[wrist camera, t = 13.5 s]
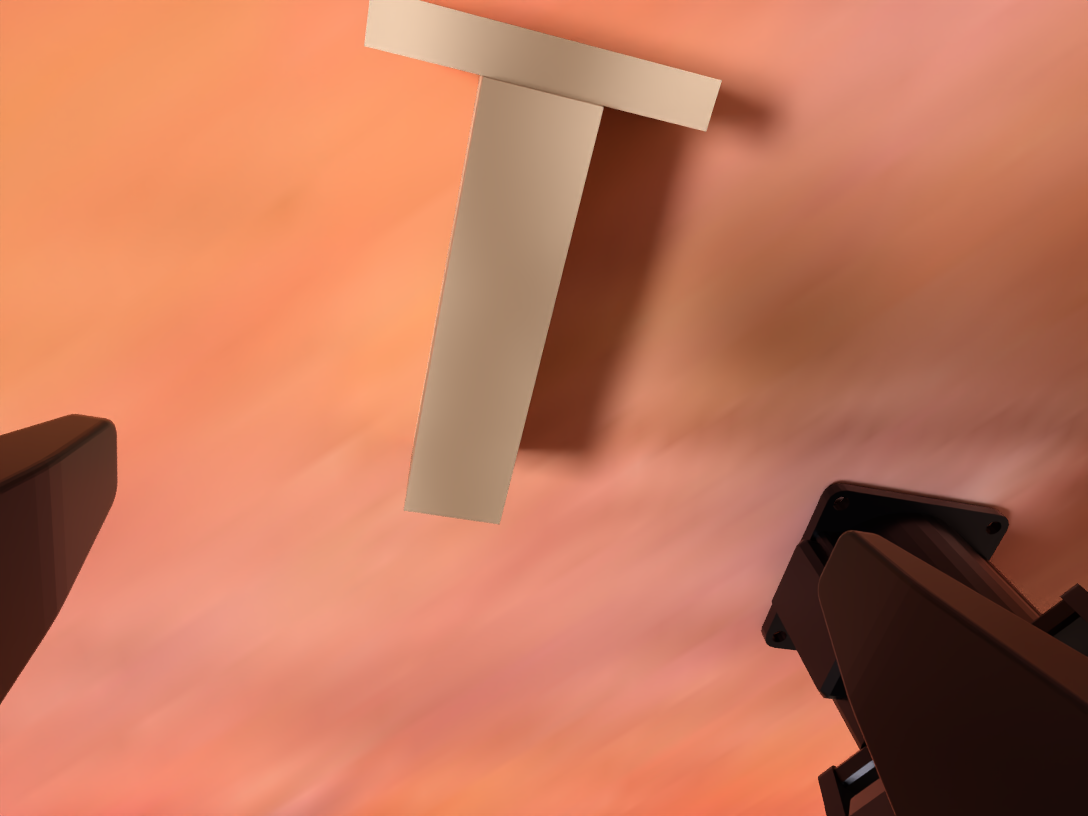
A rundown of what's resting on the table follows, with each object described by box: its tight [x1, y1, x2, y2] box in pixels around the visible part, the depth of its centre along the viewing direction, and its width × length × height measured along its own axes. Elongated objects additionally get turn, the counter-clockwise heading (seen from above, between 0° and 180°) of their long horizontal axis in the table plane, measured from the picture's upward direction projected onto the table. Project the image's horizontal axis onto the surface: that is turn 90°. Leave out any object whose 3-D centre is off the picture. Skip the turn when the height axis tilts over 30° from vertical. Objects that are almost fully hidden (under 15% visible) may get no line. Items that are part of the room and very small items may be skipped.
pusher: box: [364, 0, 722, 524], centre depth 18 cm, size 7×11×4 cm, turn 167°
